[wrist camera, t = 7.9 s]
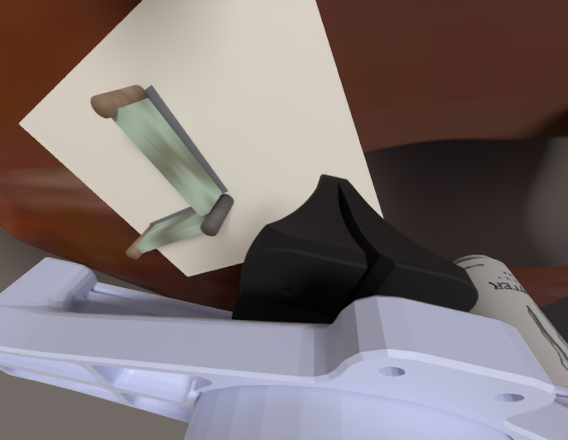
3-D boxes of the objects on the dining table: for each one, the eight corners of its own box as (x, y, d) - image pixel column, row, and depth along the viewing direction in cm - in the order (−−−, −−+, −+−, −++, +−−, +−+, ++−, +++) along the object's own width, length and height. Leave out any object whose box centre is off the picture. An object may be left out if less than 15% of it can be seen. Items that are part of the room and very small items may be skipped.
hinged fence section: (223, 191, 23) (208, 216, 20) (213, 196, 23) (196, 221, 20) (137, 81, 18) (97, 91, 14) (126, 90, 18) (86, 102, 15)
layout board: (384, 222, 24) (385, 226, 23) (189, 273, 34) (187, 277, 34) (275, -126, 11) (273, -133, 11) (24, 121, 22) (17, 123, 22)
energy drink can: (514, 267, 25) (677, 466, 13) (461, 291, 29) (554, 465, 17) (477, 242, 24) (623, 441, 12) (426, 271, 27) (502, 445, 16)
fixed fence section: (228, 191, 23) (210, 220, 20) (236, 203, 24) (221, 233, 21) (146, 225, 28) (120, 253, 25) (156, 234, 29) (132, 262, 25)
